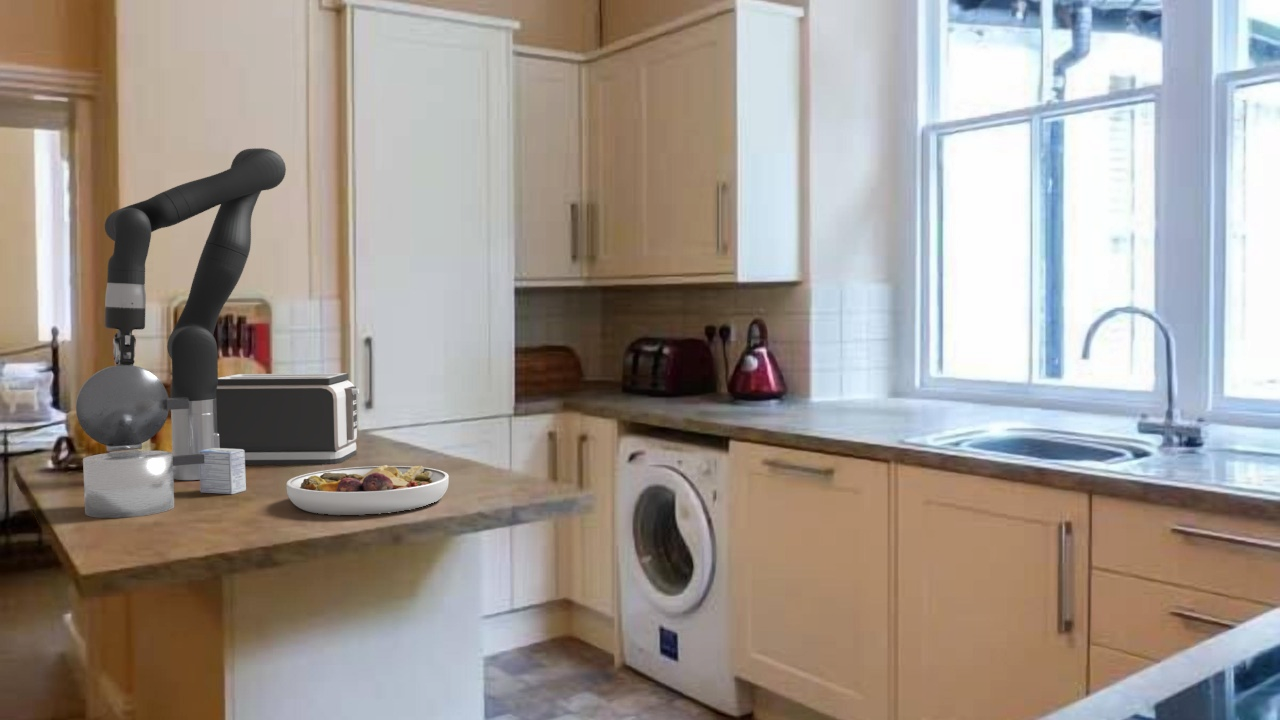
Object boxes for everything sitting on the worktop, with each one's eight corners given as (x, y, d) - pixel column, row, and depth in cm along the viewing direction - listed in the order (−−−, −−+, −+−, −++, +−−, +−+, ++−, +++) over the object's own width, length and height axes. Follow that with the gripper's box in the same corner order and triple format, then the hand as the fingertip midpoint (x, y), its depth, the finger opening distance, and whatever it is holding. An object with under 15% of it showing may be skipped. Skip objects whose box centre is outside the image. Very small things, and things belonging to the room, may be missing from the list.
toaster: (349, 465, 252) (347, 378, 250) (202, 466, 252) (199, 379, 251) (370, 453, 271) (368, 372, 270) (233, 454, 271) (231, 373, 270)
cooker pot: (197, 494, 214) (195, 445, 213) (211, 508, 199) (209, 455, 199) (82, 505, 203) (80, 453, 203) (87, 521, 189) (85, 465, 188)
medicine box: (246, 491, 218) (245, 449, 217) (231, 495, 213) (230, 452, 213) (215, 489, 220) (214, 447, 220) (199, 493, 216) (198, 450, 215)
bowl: (280, 496, 213) (279, 457, 212) (430, 485, 224) (429, 448, 224) (295, 526, 185) (294, 481, 185) (465, 511, 197) (465, 469, 196)
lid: (189, 446, 211) (186, 441, 213) (188, 363, 207) (186, 360, 210) (77, 454, 201) (76, 449, 204) (75, 367, 197) (74, 363, 200)
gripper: (149, 307, 216) (146, 387, 217) (141, 306, 229) (139, 382, 229) (108, 305, 212) (105, 386, 213) (102, 304, 225) (100, 381, 225)
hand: (123, 384), depth 221 cm, fingers open, 8 cm apart
